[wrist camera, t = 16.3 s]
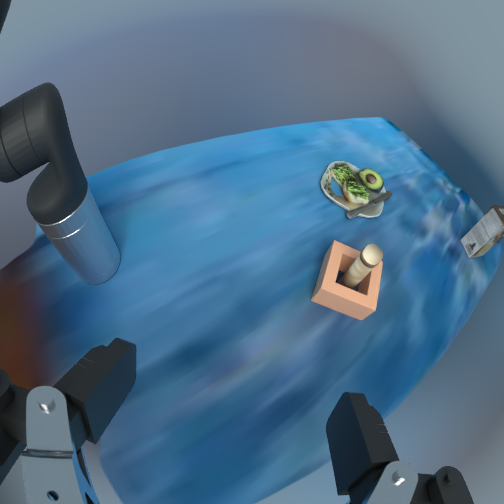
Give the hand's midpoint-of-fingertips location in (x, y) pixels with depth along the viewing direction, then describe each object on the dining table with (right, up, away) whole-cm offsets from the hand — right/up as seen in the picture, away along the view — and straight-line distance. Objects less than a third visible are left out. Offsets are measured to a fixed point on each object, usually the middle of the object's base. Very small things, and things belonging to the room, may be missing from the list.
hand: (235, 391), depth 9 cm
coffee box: (+64, +6, +49) cm, 81 cm away
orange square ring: (+17, -1, +38) cm, 41 cm away
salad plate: (+26, +20, +53) cm, 62 cm away
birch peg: (+17, -1, +38) cm, 41 cm away
